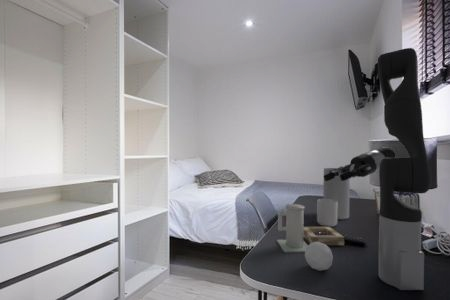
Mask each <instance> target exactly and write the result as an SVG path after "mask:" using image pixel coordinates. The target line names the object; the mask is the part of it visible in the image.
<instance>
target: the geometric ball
mask: <svg viewBox="0 0 450 300" xmlns="http://www.w3.org/2000/svg"><path fill="white" fill-rule="evenodd" d="M304 258H305V260H306V263H307V264H308V265H309V266H310V268H312V269H313V270H316V271H319V272H321V271H325V270H329V268H330V267H331V266H332V265H333V259H334V255H333V253H332V250H331V248H330V247H329V245H326V244H323V243H320V242H314V243H308V246H307V247H306V251H305V252H304Z"/></svg>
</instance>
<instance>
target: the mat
mask: <svg viewBox="0 0 450 300" xmlns="http://www.w3.org/2000/svg"><path fill="white" fill-rule="evenodd" d="M276 242H277V244H278V245H279V247H280V248H281V250H282V251H283V252H284V253H286V254H287V253H292V254H293V253H305V251H306V247H307V246H308V245H309V243H307V242H306V241H305V239H303V247H302V248H292V247H289V246H287V245H286V239H276Z"/></svg>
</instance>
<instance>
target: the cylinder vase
mask: <svg viewBox="0 0 450 300" xmlns="http://www.w3.org/2000/svg"><path fill="white" fill-rule="evenodd" d="M336 168H337V167H336ZM336 168H335V167H325V168H323V176H324V175H326V174H328V173H329V171H331V170H334V169H336ZM350 180H351V178H349V179H347V180H345V181H341V179H340V177H336V178H333V179H331V180H329V181H325V180H324V179H323V185H322V186H323V187H322V188H323V189H322V190H323V193H322V194H323V196H322V199H331V200H335V201H337V202H338V213H337V220H347V219H349V218H350V193H351V191H350V190H351V189H350V184H351V181H350Z"/></svg>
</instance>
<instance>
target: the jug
mask: <svg viewBox="0 0 450 300" xmlns="http://www.w3.org/2000/svg"><path fill="white" fill-rule="evenodd" d="M285 209H286V211H278V212H277V230H278V231H279V232H280V231H282V232H284V231H285V234H286V235H285V240H286V245H287V246H289V247H292V248H302V247H303V240H304V237H303V231H304V227H305V226H304V221H305V219H304V216H305V215H304V213H305V209H306V207H305V205H303V204H298V203H297V204H296V203H289V204H285ZM283 216H284V217H285V216H286V220H285V221H286V222H285V226H283Z"/></svg>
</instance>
